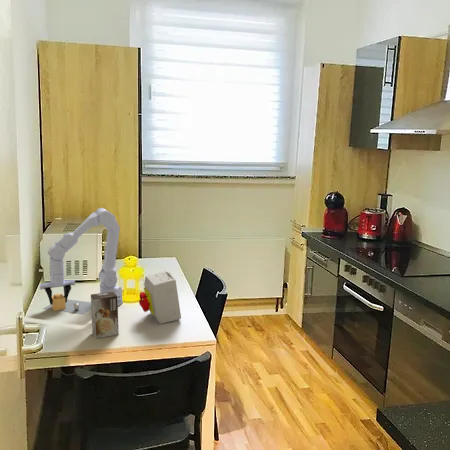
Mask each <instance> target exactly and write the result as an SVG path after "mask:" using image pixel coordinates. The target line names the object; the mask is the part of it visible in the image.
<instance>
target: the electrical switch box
mask: <svg viewBox="0 0 450 450" xmlns="http://www.w3.org/2000/svg"><path fill="white" fill-rule="evenodd" d="M143 286H144V287H143V291H142V292H139V300H138V303H139V306H140V307H141V308H142V311H143V312H144V313H147V312H150V313H151V315H152V316H153V317H154V318H155V320H156V321H157V322H158V323H159V324H160V325H162V324H166V323H170V322H175V321H177V320H181V319H182V314H181V308H180V307H181V306H180V301H179V294H178V293H179V292H178V286H177V280H176V278H175V277H174V276H173V274H172V273H171V271H167V270H164V271H159V272H155V273H151V274H148V275H145V277H144V283H143Z"/></svg>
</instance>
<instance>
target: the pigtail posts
mask: <svg viewBox="0 0 450 450" xmlns="http://www.w3.org/2000/svg"><path fill="white" fill-rule="evenodd" d="M74 311H79V303H75V304H74Z"/></svg>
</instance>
